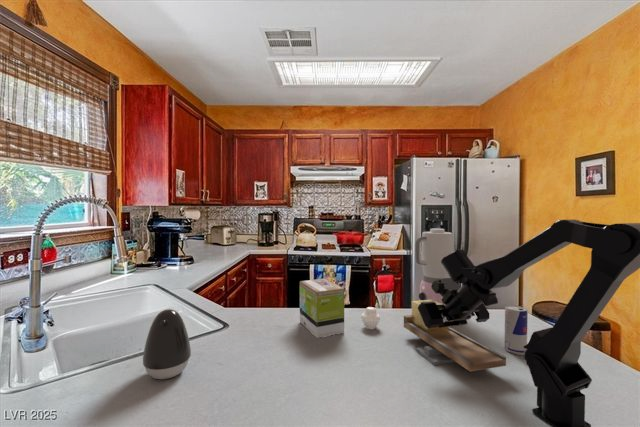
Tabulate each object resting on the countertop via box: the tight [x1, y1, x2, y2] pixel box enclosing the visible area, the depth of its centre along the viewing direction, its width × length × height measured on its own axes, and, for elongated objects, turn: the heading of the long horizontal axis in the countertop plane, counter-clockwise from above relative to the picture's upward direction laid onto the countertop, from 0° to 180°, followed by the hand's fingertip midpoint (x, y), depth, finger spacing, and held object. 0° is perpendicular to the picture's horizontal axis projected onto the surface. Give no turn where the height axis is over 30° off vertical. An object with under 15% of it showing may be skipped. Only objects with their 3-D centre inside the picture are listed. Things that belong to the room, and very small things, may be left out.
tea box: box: [299, 278, 345, 339], centre depth 103 cm, size 15×10×15 cm, turn 25°
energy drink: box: [503, 305, 528, 356], centre depth 87 cm, size 5×5×12 cm
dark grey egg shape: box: [142, 308, 192, 380], centre depth 74 cm, size 10×10×15 cm
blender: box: [414, 228, 454, 305], centre depth 118 cm, size 16×12×32 cm
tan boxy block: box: [411, 299, 449, 334], centre depth 92 cm, size 8×7×7 cm
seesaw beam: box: [403, 314, 507, 372], centre depth 84 cm, size 28×10×4 cm, turn 16°
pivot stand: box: [415, 345, 456, 366], centre depth 84 cm, size 8×14×2 cm, turn 106°
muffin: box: [360, 306, 381, 330], centre depth 103 cm, size 6×6×7 cm
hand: (439, 326), depth 88 cm, fingers closed
